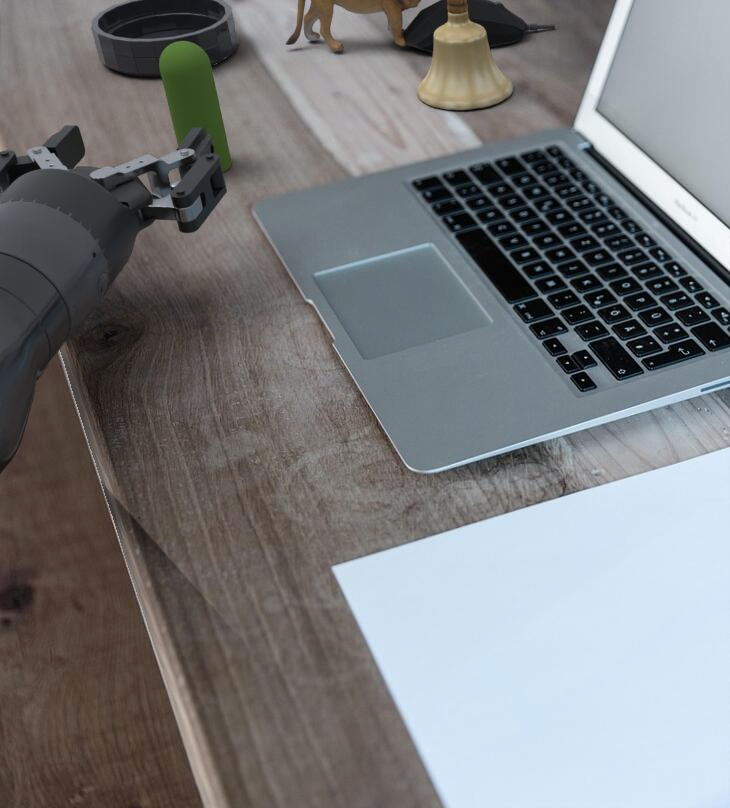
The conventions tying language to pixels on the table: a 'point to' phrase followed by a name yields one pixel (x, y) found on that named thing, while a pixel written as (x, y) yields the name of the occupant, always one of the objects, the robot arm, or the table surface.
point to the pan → (161, 32)
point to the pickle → (193, 95)
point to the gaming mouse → (480, 11)
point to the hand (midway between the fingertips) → (139, 139)
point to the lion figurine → (359, 3)
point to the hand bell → (462, 66)
